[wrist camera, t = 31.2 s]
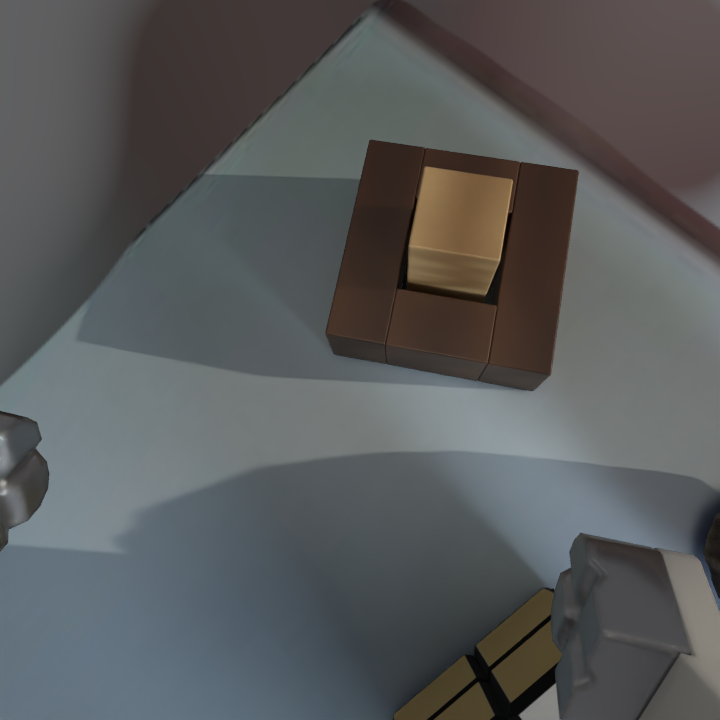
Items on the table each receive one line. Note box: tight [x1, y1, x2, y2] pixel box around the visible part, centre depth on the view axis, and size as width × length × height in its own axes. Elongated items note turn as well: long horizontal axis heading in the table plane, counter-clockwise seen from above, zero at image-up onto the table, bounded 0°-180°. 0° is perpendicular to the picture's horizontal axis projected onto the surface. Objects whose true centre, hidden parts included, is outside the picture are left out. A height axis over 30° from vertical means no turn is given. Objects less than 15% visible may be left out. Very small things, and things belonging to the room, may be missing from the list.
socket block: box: [326, 140, 579, 391], centre depth 33 cm, size 11×11×4 cm
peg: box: [407, 166, 513, 303], centre depth 31 cm, size 4×4×8 cm
